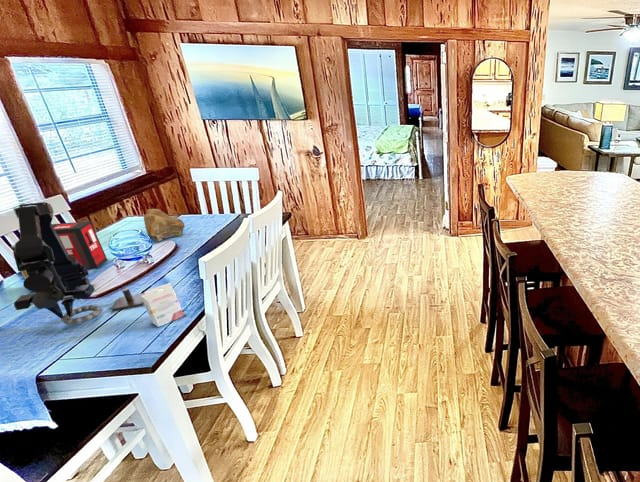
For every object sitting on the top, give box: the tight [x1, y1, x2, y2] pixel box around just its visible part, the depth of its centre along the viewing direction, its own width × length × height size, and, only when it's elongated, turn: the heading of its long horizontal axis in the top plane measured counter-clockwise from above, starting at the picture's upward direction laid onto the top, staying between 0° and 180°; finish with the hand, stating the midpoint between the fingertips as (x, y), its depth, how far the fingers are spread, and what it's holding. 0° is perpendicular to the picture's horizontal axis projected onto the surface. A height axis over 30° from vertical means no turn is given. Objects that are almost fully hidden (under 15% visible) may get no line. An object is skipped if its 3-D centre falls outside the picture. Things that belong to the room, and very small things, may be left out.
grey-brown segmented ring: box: [60, 304, 103, 325], centre depth 139 cm, size 10×10×2 cm
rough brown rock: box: [143, 208, 186, 242], centre depth 208 cm, size 23×17×15 cm
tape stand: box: [111, 287, 145, 312], centre depth 151 cm, size 9×9×6 cm
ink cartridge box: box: [141, 282, 185, 328], centre depth 140 cm, size 9×5×15 cm, turn 148°
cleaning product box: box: [52, 220, 108, 271], centre depth 174 cm, size 16×9×20 cm, turn 108°
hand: (66, 316), depth 137 cm, fingers closed on grey-brown segmented ring, 2 cm apart
